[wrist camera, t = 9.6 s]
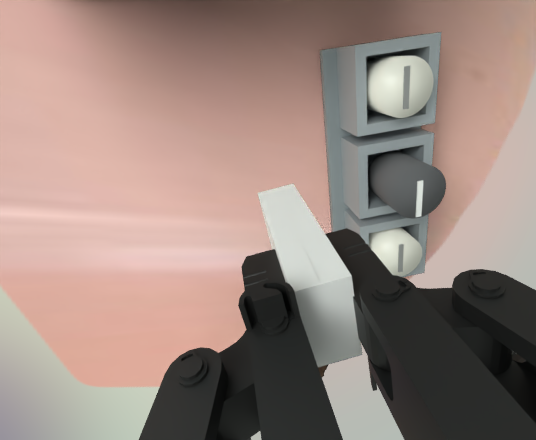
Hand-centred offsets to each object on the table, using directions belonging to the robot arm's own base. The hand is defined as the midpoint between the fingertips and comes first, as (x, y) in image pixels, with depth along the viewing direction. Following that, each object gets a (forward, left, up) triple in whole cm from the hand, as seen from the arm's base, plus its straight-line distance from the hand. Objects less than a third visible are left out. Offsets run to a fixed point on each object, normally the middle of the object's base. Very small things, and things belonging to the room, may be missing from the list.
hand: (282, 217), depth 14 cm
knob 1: (-2, +15, -24) cm, 28 cm away
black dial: (+7, +15, -21) cm, 26 cm away
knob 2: (+16, +15, -24) cm, 32 cm away
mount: (+7, +15, -25) cm, 30 cm away
